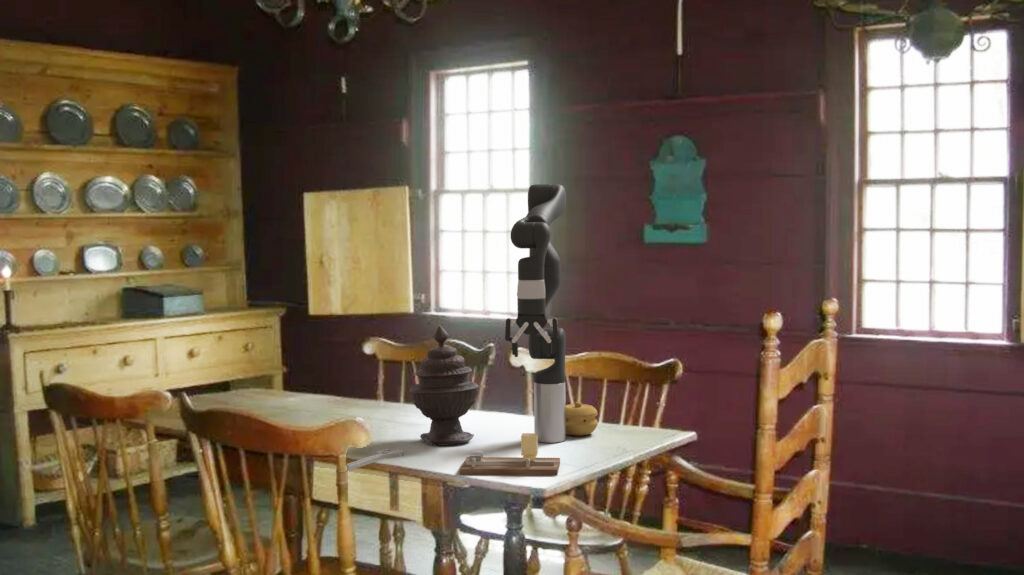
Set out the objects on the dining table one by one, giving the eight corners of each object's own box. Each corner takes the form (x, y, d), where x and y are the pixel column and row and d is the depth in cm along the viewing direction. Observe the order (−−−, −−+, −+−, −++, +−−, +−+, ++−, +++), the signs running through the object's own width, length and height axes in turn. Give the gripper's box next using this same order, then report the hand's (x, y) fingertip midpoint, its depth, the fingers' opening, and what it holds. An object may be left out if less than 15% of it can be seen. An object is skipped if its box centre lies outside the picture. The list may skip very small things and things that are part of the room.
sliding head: (523, 458, 292) (522, 432, 291) (538, 459, 291) (538, 432, 291) (521, 464, 285) (520, 437, 285) (536, 464, 285) (536, 437, 284)
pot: (595, 438, 327) (595, 405, 326) (556, 437, 329) (555, 404, 329) (600, 431, 338) (599, 399, 338) (562, 430, 341) (561, 398, 340)
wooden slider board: (467, 462, 297) (466, 447, 296) (560, 463, 294) (559, 448, 294) (459, 474, 283) (459, 459, 283) (557, 475, 280) (557, 459, 280)
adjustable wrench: (346, 473, 288) (345, 467, 288) (327, 471, 291) (327, 464, 291) (406, 455, 308) (406, 449, 308) (389, 453, 312) (388, 446, 312)
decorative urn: (496, 436, 329) (485, 319, 325) (455, 453, 312) (443, 330, 309) (443, 432, 340) (431, 320, 337) (400, 448, 324) (388, 330, 320)
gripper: (558, 295, 299) (559, 355, 300) (506, 295, 301) (507, 355, 302) (557, 297, 292) (557, 358, 293) (503, 297, 293) (504, 358, 294)
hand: (532, 356), depth 297 cm, fingers open, 8 cm apart
